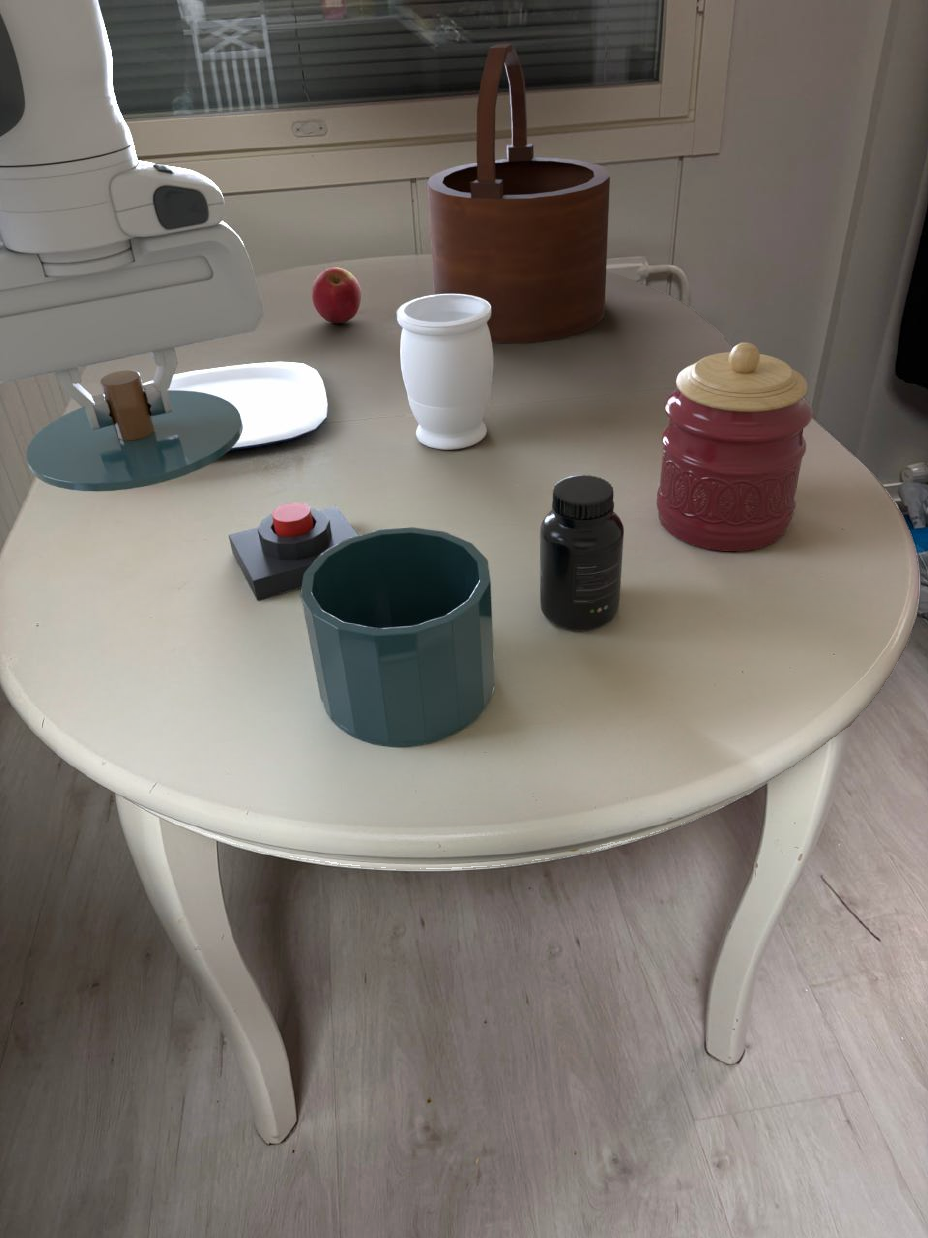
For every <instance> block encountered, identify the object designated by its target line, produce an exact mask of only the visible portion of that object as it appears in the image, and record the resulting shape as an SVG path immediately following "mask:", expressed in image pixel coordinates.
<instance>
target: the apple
mask: <svg viewBox="0 0 928 1238" xmlns="http://www.w3.org/2000/svg"><path fill="white" fill-rule="evenodd" d="M311 301H312V304H313V307H314V308H315V310H316V312H317V313H318V314H319V316H321V318H323V319H324V320H325V321H326V322H328V323H331V324H343V323H347V322H348V321H350V320H352V319H353V318H354V317H355V316H356V315H357V313H358V312H359V309H360V306H361V301H362V290H361V285H360V283H359V280H357V277H355V275H353V274H352V273H351V272H350V271H349V270H348V269H347V270H346V269H345V268H342V267H337V266H334V267H329V268H326V269H325V270H323V271H322V272H320V273H319V274H318V275H317V276H316V278H315V280H314V281H313V284H312V288H311Z"/></svg>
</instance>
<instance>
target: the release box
mask: <svg viewBox="0 0 928 1238" xmlns="http://www.w3.org/2000/svg"><path fill="white" fill-rule="evenodd" d="M310 508H311V513H312V519H313V529H312V530H310V531H309V532H307V533H306V534H302V535H299V536H295V537H283V536H280V535H278V534H276V532H275V528H274V523H273V518H272V513H271V514H270V515H267V517H265V518H263V519H262V520H261V522H260V524H259V525H258V526H256V527H251V528H249V529H245V530H241V531H238V532H234V533H230V534H228V540H229V544H230V548H231V552H232V555H233V558H234V559H235V561H236V563H237V564H238V567H239V569H240V570H241V572H242V574H243V576H244V578H245V580H246V582H247V584H248V585H249V588H250V589H251V591H252V594H253V595H254V597H255V599H256V601H260V600H264V599H267V598H272V597H274V596H277V595H280V594H285V593H287V592H291V591H295V590H299V589H302V582H303V576H304V573H305V572H306V571H307V569H308V568H309V567H310V566H311V565H312V564H313V562H314V561H315V560H316V559H317V558H318V556H319V555H321V553H323V552H325V551H327V550H328V549H330V548H332V547H334V546H335V545H337V544H339V543H340V542H342V541H344V540H346V539H349V538H352V537H356V536H359V534H358V532H356V530H355V529H354V528H353V526H352V525H351V524H350V522H349V521H348V520H347V518H346V517H345V516H344V515H343V513H342V512H341V510H340V509H339V508H338V507H337V505H333V506H330V507H326V508H322V509H317V508H313V507H310Z"/></svg>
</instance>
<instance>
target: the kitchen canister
mask: <svg viewBox="0 0 928 1238" xmlns="http://www.w3.org/2000/svg"><path fill="white" fill-rule="evenodd" d="M675 383H676V388H675V389H674V390H673V391H671V393H670V394H669V395H668V396H667V397H666V400H665V401H664V411H665V413H666V416H667V417H668V419H669V420H668V424H667V426H666V427H665V428H664V430H663V432H662V436H661V443H662V455H661V456H662V457H661V469H660V478H659V486H658V488H657V492H656V508H657V511H658V512H657V513H658V520H659V522H660V524H661V526H662V527H663V528H664V530H666V531H667V532H668V533H669V534H670V535H671V536H673V537H675V538H676V539H678V540H680V541H682V542H684V543H687V544H690V545H692V546H695V547H698V548H703V549H707V550H712V551H721V552H742V551H750V550H756V549H761V548H763V547H766V546H769V545H771V544H773V543H775V542H777V541H779V540H780V539H781V538H783V537H784V535H785V534H786V533H787V531H788V529H789V526H790V524H791V522H792V520H793V519H794V516H795V509H796V493H797V489H798V483H799V478H800V472H801V468H802V461H803V457H804V456H805V455H806V453H807V442H806V439H805V437H804V429H805V428H806V427H808V425H809V424H810V422H811V421H812V418H813V416H814V411H813V407H812V405H811V403H810V402H809V401H808V399H807V398H806V397H805V395H806V394H807V391H808V383H807V380H806V379H805V377H804V376H803V375H802V374H800V372H799V371H797V370H795V369H793V368H792V367H791V366H790V365H789V364H788V363H786V362H785V361H784V360H781V359H780V358H776V357H775V356H771V355H767V354H763V353H760V350H759V349H758V347H757V346H756V345H755V344H753V343H751V342H740V343H738V344H736V345H734V346H733V348H731V351H729V352H719V353H714V354H711V355H708V356H704V357H703V358H700V359H699V360H698V361H697V362H695V363H692V364H690V365H688V366H686V367H684V368H683V369H682V370H681V371H680V372H679V373H678V375H677V377H676V381H675Z"/></svg>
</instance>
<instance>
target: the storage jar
mask: <svg viewBox="0 0 928 1238" xmlns="http://www.w3.org/2000/svg"><path fill="white" fill-rule="evenodd" d="M489 566H490V565H489V560H488V558H486V557H485V556H484V554H482V553H481V551H480V550H479V549H478V548H477V547H476V546H475V545H474V544H473V542H469V541H467V540H466V539H463V538H460V537H458V536H456V535H454V534H451V533H449V532H447V531H442V530H436V529H430V528H429V529H428V528H421V527H415V526H414V527H413V526H411V527H409V526H408V527H397V528H395V527H394V528H381V529H377V530H373V531H370V532H367V533H363V534H358V536H356V537H352V538H349V539H346V540H344V541H342V542H340V543H339V544H337V545H335V546H334V547H332V548H330V549H328V550H327V551H325V552H323V553H321V555H319V556H318V558H317V559H316V560H315V561H314V562H313V564H312V565H311V566H310V567H309V568H308V569H307V571H306V572H305V573H304V576H303V582H302V587H301V588H300V589H301V590H300V599H301V603H302V609H303V614H304V618H305V624H306V625H305V626H306V630H307V634H308V640H309V646H310V651H311V656H312V662H313V666H314V672H315V676H316V682H317V688H318V693H319V697H320V700H321V702H322V704H323V708H324V710H325V712H326V714H327V716H328V717H329V719H330V720H331V721H332V722H333V724H334V725H335V726H336V727H337V728H338V729H340V730H341V731H343V732H344V733H345V734H347V735H349V736H350V737H353V738H354V739H357V740H360V741H362V742H365V743H368V744H372V745H375V746H377V745H378V746H383V747H395V748H396V747H400V748H401V747H415V746H422V745H427V744H432V743H435V742H438V741H442V740H445V739H447V738H450V737H452V736H454V735H456V734H457V733H459V732H462V731H463V730H464V729H466V728H467V727H469V726H470V725H471V724H473V723H474V722H475V721H476V720H477V719H479V717H481V715H482V714H483V713H484V711H486V709H487V707H488V705H489V703H490V702H491V699H492V696H493V692H494V688H495V686H496V682H495V681H496V680H495V679H496V678H495V657H494V655H495V654H494V633H493V632H494V630H493V609H492V608H493V607H492V584H491V583H492V582H491V581H492V580H491V573H490V567H489Z"/></svg>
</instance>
